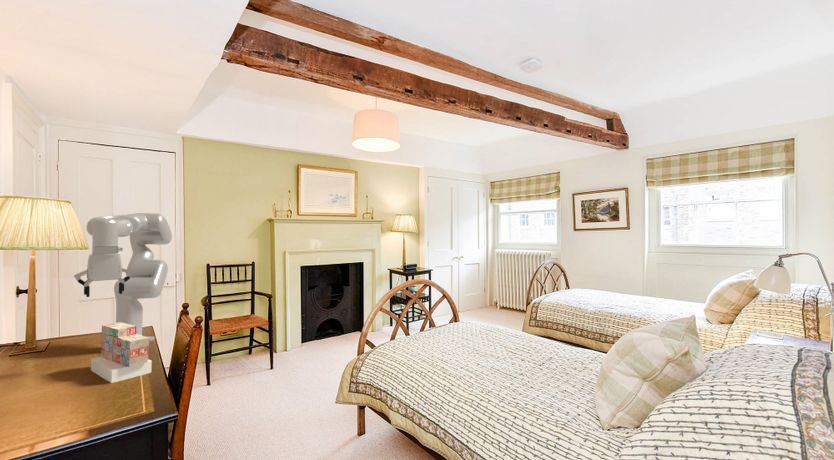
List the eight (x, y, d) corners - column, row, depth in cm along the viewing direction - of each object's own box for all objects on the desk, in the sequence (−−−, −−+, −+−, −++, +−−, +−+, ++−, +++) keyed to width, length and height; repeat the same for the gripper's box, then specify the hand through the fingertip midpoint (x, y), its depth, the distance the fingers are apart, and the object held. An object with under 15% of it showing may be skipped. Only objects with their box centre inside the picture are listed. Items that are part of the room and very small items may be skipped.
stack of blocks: (148, 362, 134) (149, 329, 135) (128, 367, 129) (129, 333, 129) (120, 352, 145) (120, 321, 145) (100, 356, 139) (101, 324, 139)
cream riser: (129, 362, 147) (129, 350, 147) (151, 374, 136) (151, 360, 136) (90, 372, 137) (91, 358, 137) (111, 384, 126) (111, 370, 126)
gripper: (131, 249, 149) (130, 290, 149) (73, 250, 136) (73, 296, 137) (135, 250, 144) (134, 293, 144) (75, 252, 131) (74, 299, 132)
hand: (104, 294), depth 140 cm, fingers open, 9 cm apart
